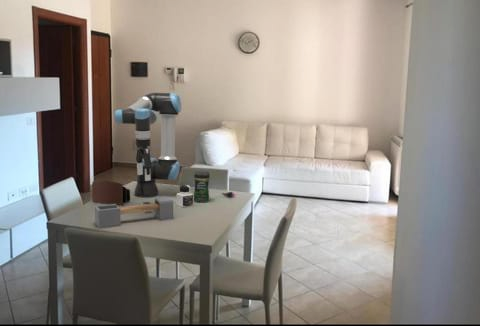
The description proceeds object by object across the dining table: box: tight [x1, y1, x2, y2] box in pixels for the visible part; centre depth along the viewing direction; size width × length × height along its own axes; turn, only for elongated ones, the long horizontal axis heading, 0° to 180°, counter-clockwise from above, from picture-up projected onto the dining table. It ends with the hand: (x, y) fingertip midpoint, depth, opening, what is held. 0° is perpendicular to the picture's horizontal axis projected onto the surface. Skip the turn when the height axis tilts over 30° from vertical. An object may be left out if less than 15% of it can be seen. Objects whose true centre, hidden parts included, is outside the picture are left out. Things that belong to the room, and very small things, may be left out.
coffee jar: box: [193, 170, 211, 203], centre depth 281 cm, size 10×8×19 cm
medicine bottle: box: [176, 184, 194, 209], centre depth 271 cm, size 7×7×12 cm
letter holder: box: [91, 180, 131, 207], centre depth 273 cm, size 10×20×14 cm, turn 75°
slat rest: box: [142, 201, 152, 214], centre depth 252 cm, size 5×23×5 cm, turn 119°
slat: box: [119, 203, 159, 215], centre depth 241 cm, size 4×28×2 cm, turn 119°
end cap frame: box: [94, 196, 174, 229], centre depth 240 cm, size 9×39×10 cm, turn 119°
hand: (143, 177), depth 246 cm, fingers open, 13 cm apart
